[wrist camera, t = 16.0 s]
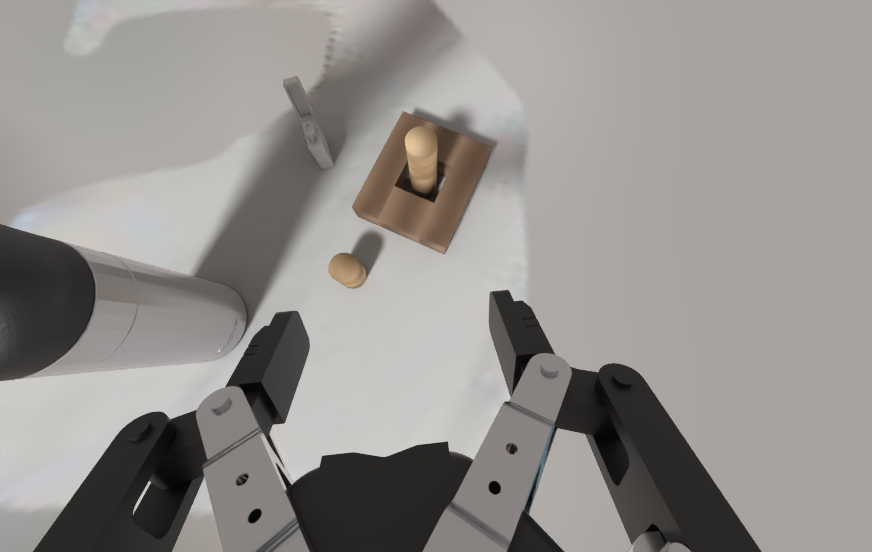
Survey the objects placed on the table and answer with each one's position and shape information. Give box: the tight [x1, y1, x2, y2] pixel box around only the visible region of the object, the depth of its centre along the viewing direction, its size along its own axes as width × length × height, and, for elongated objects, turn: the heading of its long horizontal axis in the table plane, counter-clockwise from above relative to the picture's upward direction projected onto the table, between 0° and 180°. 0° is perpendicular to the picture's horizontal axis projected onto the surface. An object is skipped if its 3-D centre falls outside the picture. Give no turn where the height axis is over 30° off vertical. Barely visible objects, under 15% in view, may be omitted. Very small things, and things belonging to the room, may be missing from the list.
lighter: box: [283, 77, 334, 169], centre depth 38 cm, size 7×2×8 cm, turn 19°
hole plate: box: [352, 111, 492, 254], centre depth 40 cm, size 12×14×3 cm
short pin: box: [328, 253, 367, 288], centre depth 37 cm, size 3×3×4 cm
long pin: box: [405, 126, 437, 200], centre depth 36 cm, size 3×3×10 cm
